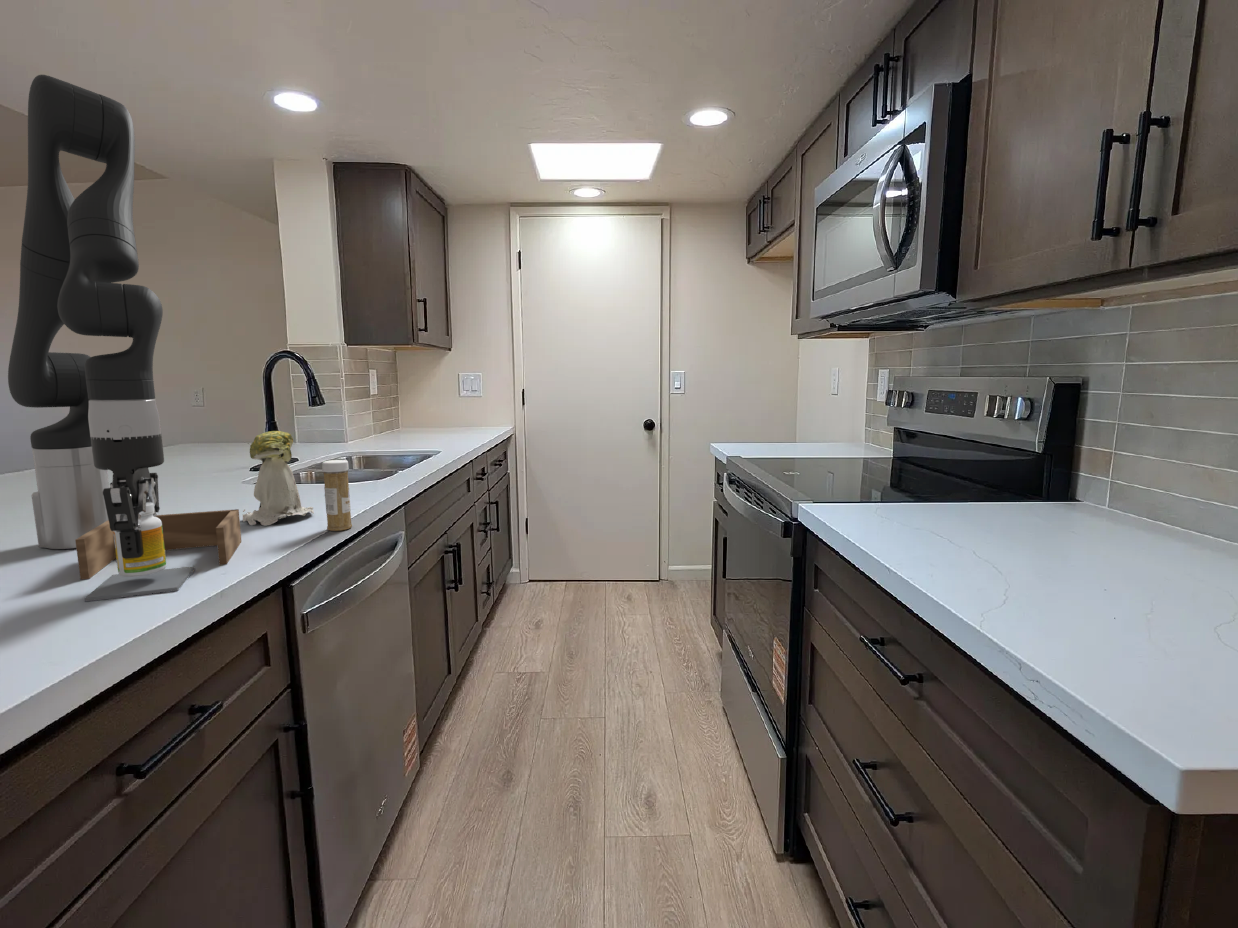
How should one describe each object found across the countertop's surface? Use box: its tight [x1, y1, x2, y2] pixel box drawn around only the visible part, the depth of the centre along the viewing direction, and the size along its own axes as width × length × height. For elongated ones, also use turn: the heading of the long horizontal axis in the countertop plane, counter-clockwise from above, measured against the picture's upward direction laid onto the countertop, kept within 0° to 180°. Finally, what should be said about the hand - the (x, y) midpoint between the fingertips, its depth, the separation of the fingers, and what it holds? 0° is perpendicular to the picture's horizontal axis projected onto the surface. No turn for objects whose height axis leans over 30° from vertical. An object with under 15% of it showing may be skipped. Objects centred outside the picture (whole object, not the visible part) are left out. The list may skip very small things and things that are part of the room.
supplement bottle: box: [113, 502, 167, 577], centre depth 83 cm, size 5×5×10 cm
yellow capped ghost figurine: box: [242, 430, 314, 527], centre depth 122 cm, size 12×13×18 cm
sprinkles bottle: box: [321, 459, 353, 532], centre depth 114 cm, size 5×5×14 cm
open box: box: [75, 508, 242, 580], centre depth 95 cm, size 14×18×6 cm
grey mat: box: [84, 565, 196, 602], centre depth 84 cm, size 10×10×1 cm
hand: (140, 550), depth 83 cm, fingers closed on supplement bottle, 5 cm apart
